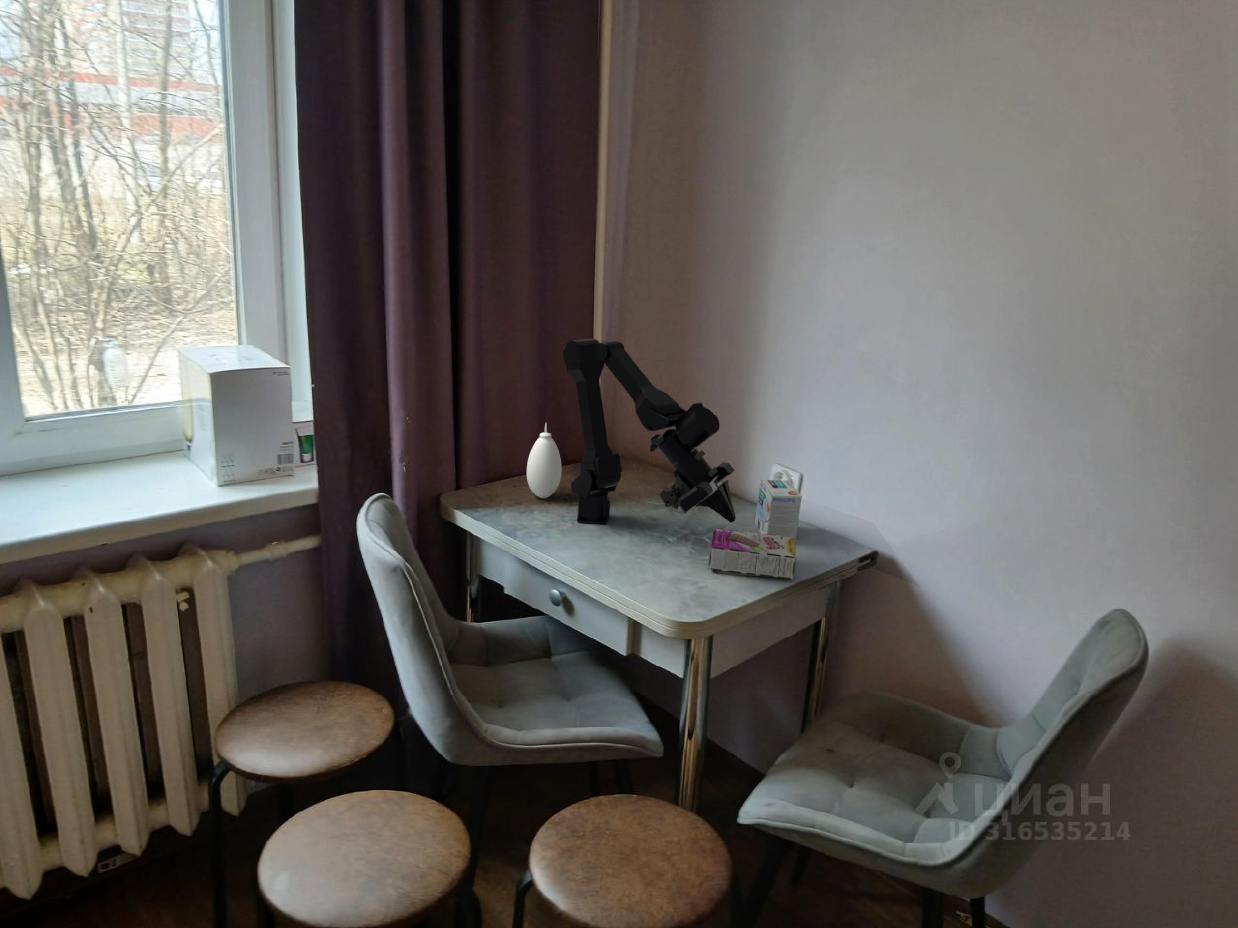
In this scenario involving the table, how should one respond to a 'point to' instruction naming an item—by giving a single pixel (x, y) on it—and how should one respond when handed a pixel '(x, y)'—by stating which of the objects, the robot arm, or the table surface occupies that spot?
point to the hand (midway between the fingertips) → (733, 521)
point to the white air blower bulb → (544, 466)
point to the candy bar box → (752, 553)
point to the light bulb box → (778, 508)
